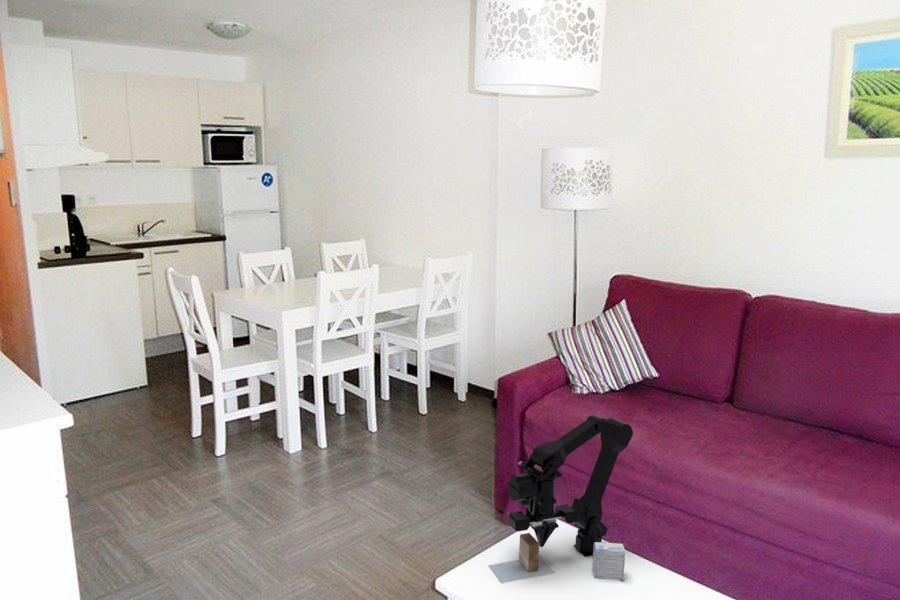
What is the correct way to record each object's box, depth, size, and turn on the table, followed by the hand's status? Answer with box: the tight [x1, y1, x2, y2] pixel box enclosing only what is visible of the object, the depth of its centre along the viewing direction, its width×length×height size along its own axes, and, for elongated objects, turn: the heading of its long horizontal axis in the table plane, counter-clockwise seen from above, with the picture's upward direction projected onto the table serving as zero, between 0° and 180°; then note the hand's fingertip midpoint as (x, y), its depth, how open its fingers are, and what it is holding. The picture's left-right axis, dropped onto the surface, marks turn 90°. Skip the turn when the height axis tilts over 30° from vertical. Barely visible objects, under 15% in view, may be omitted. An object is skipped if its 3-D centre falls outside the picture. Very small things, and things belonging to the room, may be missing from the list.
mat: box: [487, 555, 556, 584], centre depth 189 cm, size 16×9×1 cm, turn 110°
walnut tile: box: [518, 532, 540, 573], centre depth 190 cm, size 3×6×8 cm, turn 20°
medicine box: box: [591, 541, 626, 582], centre depth 187 cm, size 8×4×9 cm, turn 84°
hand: (541, 546), depth 191 cm, fingers closed
